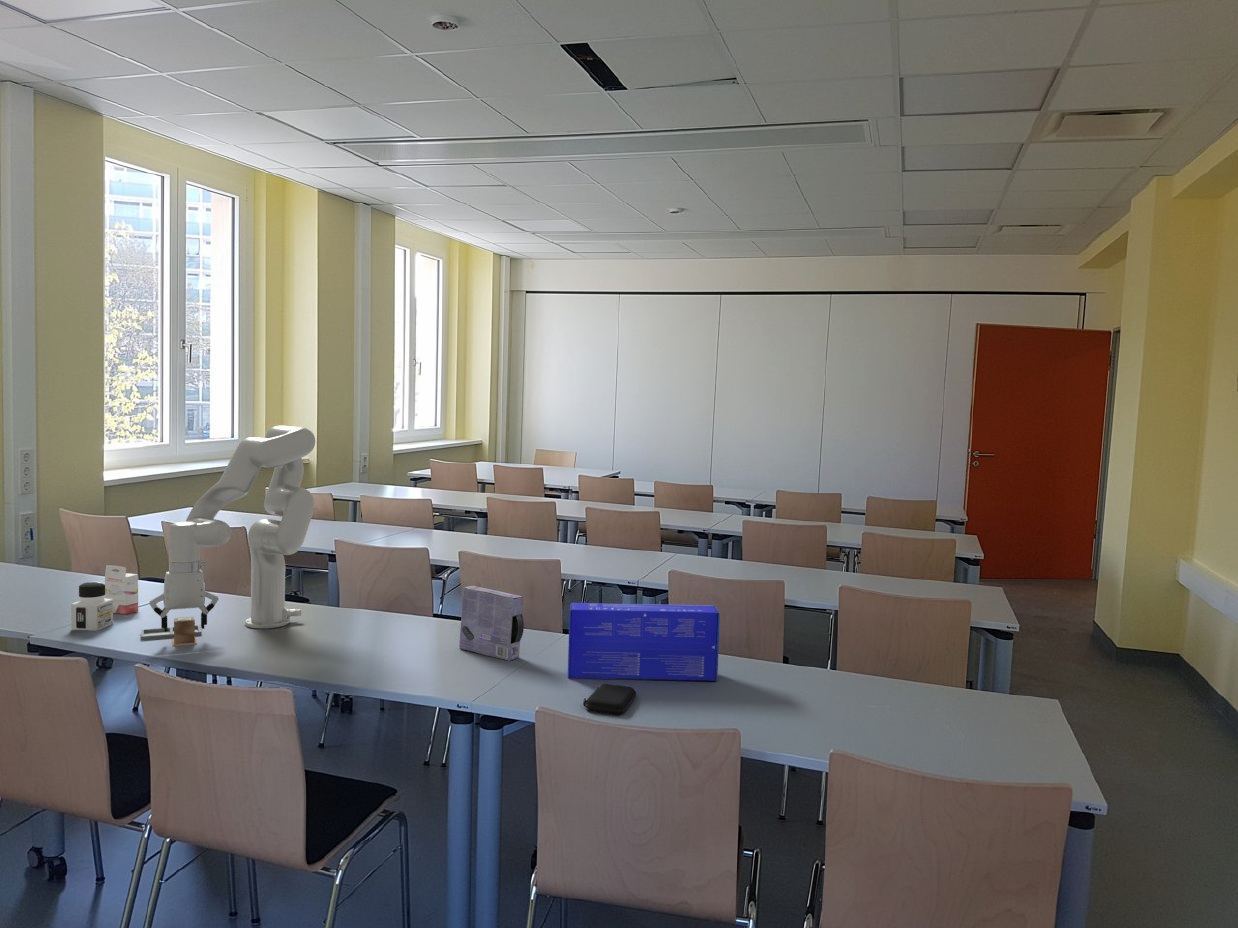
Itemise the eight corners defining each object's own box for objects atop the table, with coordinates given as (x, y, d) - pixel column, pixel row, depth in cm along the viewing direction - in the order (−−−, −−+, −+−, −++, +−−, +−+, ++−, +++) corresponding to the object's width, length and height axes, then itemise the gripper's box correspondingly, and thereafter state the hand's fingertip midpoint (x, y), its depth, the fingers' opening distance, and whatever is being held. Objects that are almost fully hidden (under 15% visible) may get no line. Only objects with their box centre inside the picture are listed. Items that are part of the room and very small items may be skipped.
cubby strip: (200, 629, 256) (200, 624, 256) (201, 636, 249) (201, 631, 249) (141, 633, 248) (141, 629, 248) (140, 641, 242) (140, 636, 241)
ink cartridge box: (139, 611, 273) (139, 564, 271) (126, 614, 268) (126, 567, 267) (117, 608, 275) (117, 562, 274) (104, 611, 270) (103, 564, 269)
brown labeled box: (194, 637, 245) (194, 616, 244) (194, 642, 241) (194, 620, 240) (174, 639, 243) (174, 617, 242) (174, 644, 238) (174, 622, 238)
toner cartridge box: (712, 672, 235) (716, 604, 233) (717, 683, 226) (721, 612, 225) (567, 668, 233) (570, 600, 231) (567, 679, 225) (569, 608, 223)
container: (97, 631, 249) (97, 586, 248) (70, 630, 249) (70, 585, 248) (113, 624, 257) (113, 580, 256) (87, 623, 257) (87, 579, 256)
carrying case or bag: (595, 692, 216) (578, 712, 202) (596, 680, 216) (578, 699, 202) (637, 697, 214) (623, 718, 199) (638, 685, 213) (623, 705, 199)
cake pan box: (523, 658, 241) (526, 594, 239) (512, 662, 236) (514, 597, 235) (469, 645, 250) (471, 584, 249) (458, 649, 246) (459, 587, 245)
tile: (195, 639, 246) (195, 636, 246) (196, 644, 240) (196, 642, 240) (171, 641, 243) (171, 638, 243) (172, 646, 238) (172, 644, 238)
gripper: (218, 562, 247) (218, 622, 249) (148, 566, 239) (148, 628, 241) (220, 567, 241) (219, 629, 242) (148, 571, 233) (148, 635, 234)
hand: (184, 628), depth 241 cm, fingers open, 8 cm apart
